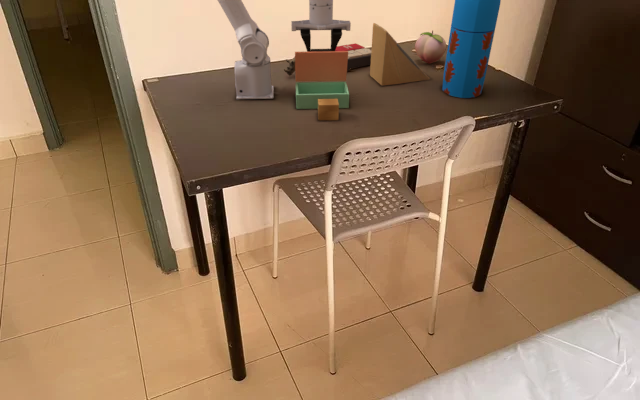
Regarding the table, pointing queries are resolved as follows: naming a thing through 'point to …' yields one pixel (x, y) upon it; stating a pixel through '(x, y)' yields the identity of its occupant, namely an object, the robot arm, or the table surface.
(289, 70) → the rhino figurine
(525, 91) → the table surface
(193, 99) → the table surface
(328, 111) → the block
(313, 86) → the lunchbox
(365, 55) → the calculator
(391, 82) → the sandwich container
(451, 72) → the thermos
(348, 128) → the table surface
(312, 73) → the lid
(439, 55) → the decorative fruit
